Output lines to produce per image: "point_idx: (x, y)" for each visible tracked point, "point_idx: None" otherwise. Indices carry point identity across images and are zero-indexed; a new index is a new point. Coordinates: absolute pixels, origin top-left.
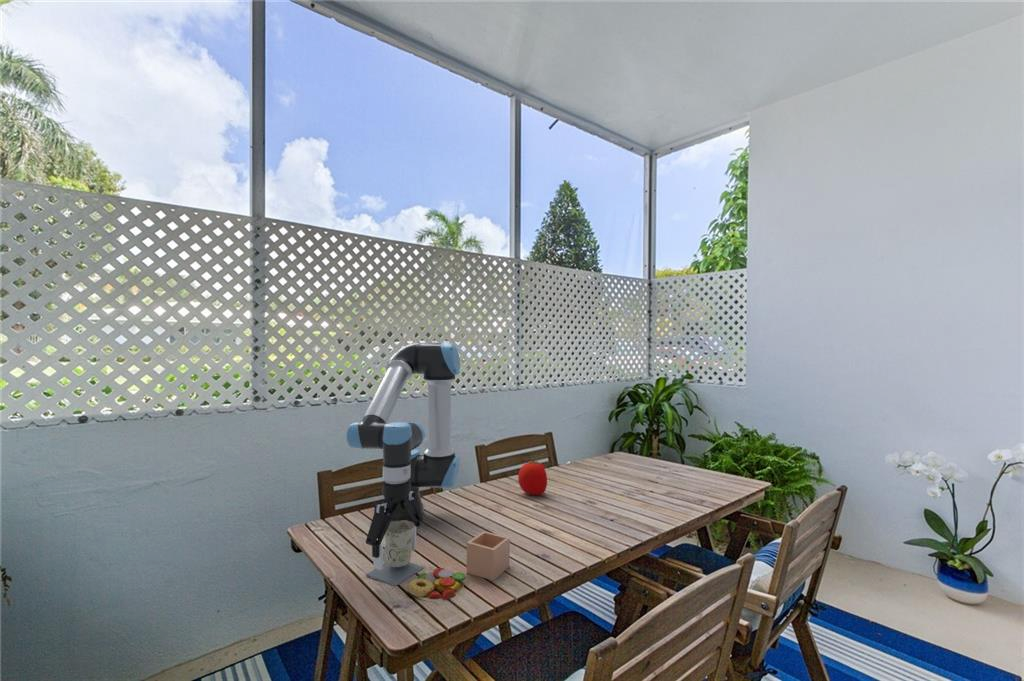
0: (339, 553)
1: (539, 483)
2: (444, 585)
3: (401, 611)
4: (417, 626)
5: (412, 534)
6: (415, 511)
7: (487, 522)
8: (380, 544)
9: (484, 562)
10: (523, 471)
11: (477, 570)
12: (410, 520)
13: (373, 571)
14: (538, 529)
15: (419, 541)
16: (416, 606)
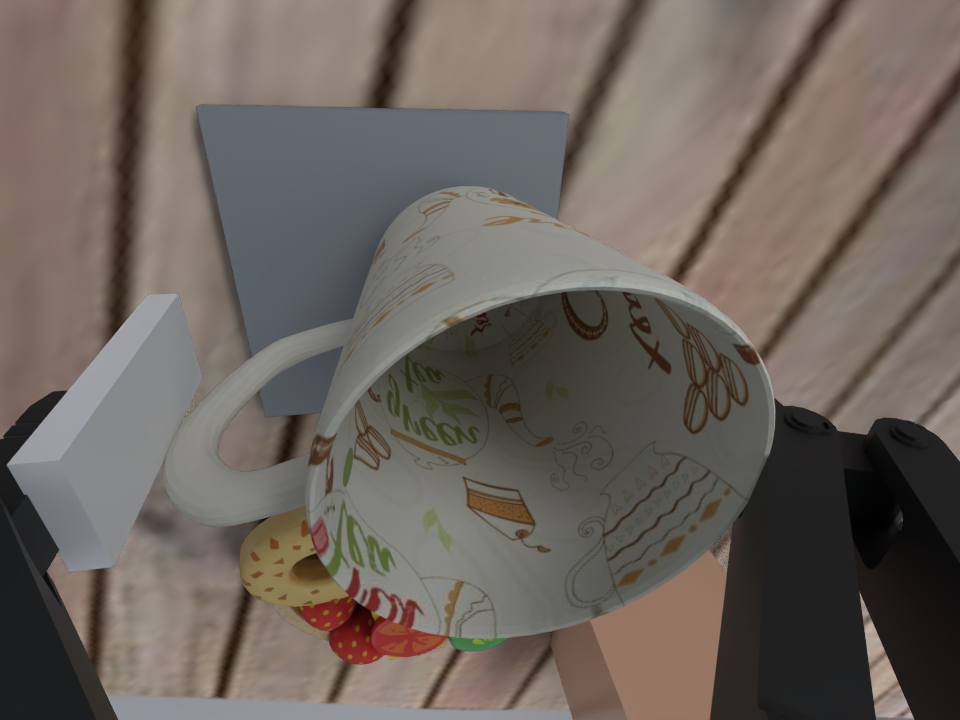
0: None
1: None
2: (374, 645)
3: (145, 562)
4: (137, 653)
5: (553, 553)
6: (908, 636)
7: None
8: (73, 553)
9: (583, 704)
10: None
11: (571, 635)
12: (743, 530)
13: (276, 135)
14: None
15: (911, 64)
16: (229, 575)
